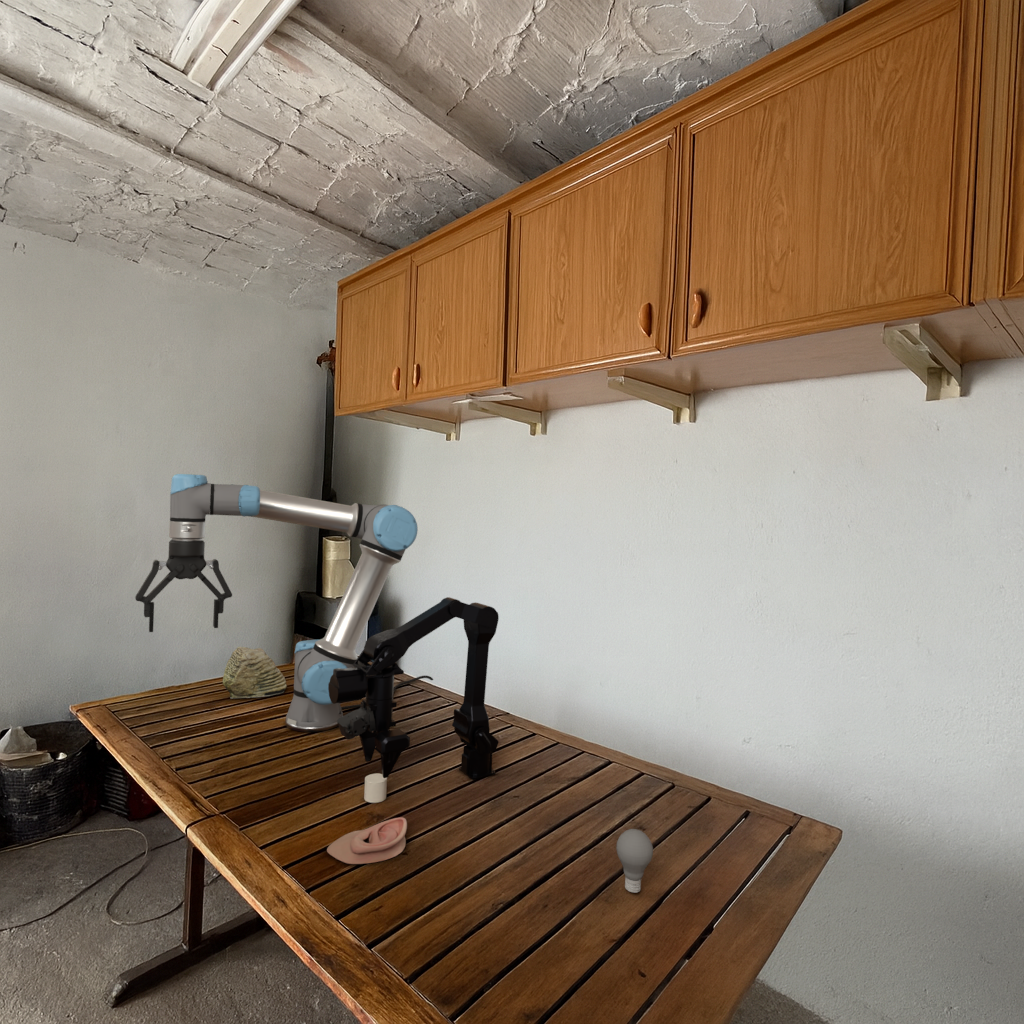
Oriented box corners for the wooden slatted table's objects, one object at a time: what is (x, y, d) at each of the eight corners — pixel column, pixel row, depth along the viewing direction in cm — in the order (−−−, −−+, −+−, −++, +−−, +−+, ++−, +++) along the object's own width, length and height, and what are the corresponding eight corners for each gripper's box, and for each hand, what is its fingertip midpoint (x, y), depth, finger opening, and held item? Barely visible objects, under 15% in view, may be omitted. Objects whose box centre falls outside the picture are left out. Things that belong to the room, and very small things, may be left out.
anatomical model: (319, 836, 111) (348, 806, 122) (318, 859, 111) (348, 826, 122) (390, 848, 108) (414, 816, 119) (389, 871, 108) (413, 836, 119)
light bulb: (610, 879, 108) (613, 822, 108) (644, 879, 109) (647, 822, 109) (619, 902, 102) (622, 840, 102) (655, 901, 103) (658, 840, 103)
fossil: (218, 695, 195) (220, 647, 195) (278, 685, 208) (279, 640, 207) (228, 703, 189) (230, 653, 188) (289, 692, 201) (290, 645, 201)
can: (380, 804, 132) (381, 784, 132) (360, 801, 133) (361, 781, 133) (389, 794, 136) (390, 775, 136) (369, 791, 137) (370, 772, 137)
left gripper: (125, 540, 140) (122, 636, 140) (246, 540, 153) (243, 628, 153) (125, 538, 146) (122, 629, 146) (241, 538, 159) (238, 622, 160)
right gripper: (327, 689, 137) (324, 761, 137) (359, 715, 122) (356, 796, 122) (375, 682, 143) (373, 751, 144) (412, 706, 128) (409, 783, 128)
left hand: (184, 629), depth 150 cm, fingers open, 13 cm apart
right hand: (376, 769), depth 134 cm, fingers open, 9 cm apart
